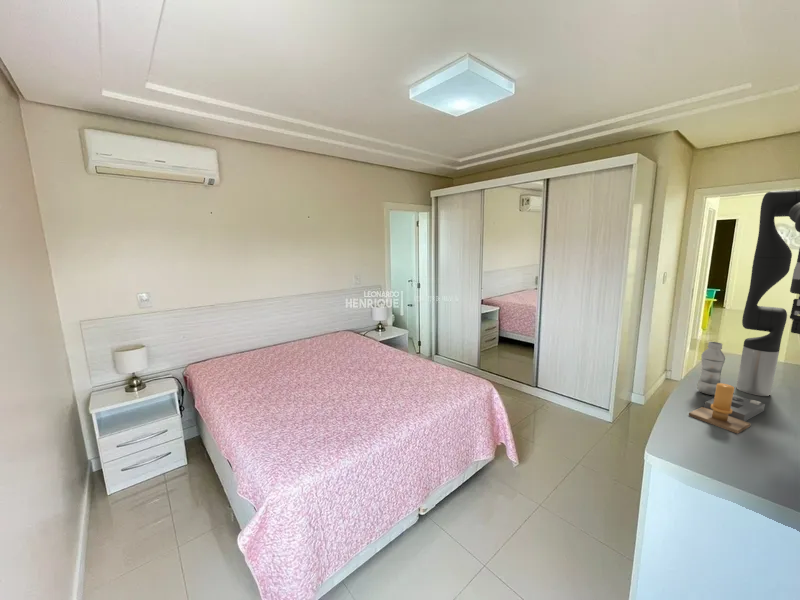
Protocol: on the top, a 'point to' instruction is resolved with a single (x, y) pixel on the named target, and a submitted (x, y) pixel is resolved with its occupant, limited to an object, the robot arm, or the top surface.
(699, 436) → the top surface
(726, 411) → the plug
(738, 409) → the grey socket board
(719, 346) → the plastic bottle
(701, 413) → the board
